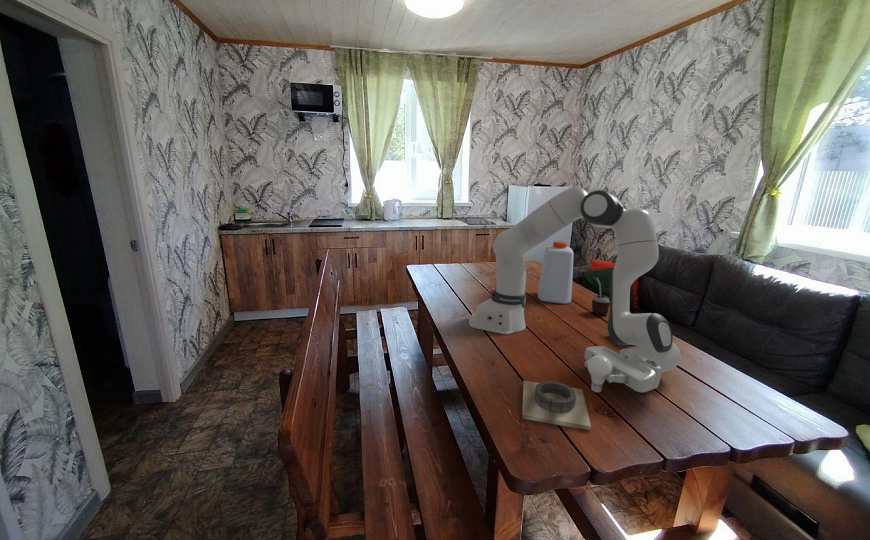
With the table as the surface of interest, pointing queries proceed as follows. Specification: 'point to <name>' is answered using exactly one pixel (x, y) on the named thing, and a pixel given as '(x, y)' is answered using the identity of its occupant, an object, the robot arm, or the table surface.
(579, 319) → the table surface
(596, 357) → the lightbulb
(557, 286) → the plastic bottle
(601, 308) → the mate gourd
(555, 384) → the jig
